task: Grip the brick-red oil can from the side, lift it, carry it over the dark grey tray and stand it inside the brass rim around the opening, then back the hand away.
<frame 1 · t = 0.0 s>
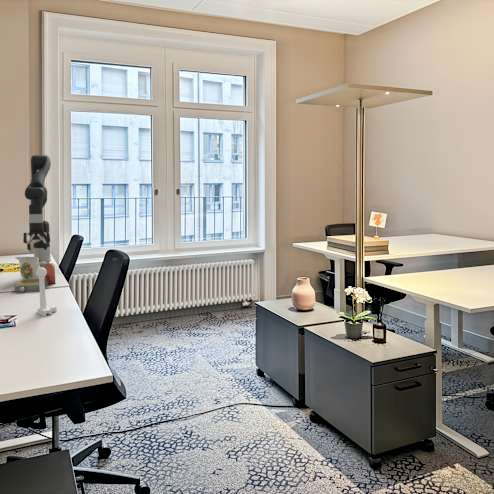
hand: (37, 250, 296), 17 cm above the table, tool pointing down, fingers open, 8 cm apart
pitcher: (32, 280, 295), on the table
spout can: (50, 284, 285), on the table
joystick: (47, 312, 222), on the table
grey tray: (32, 288, 272), on the table
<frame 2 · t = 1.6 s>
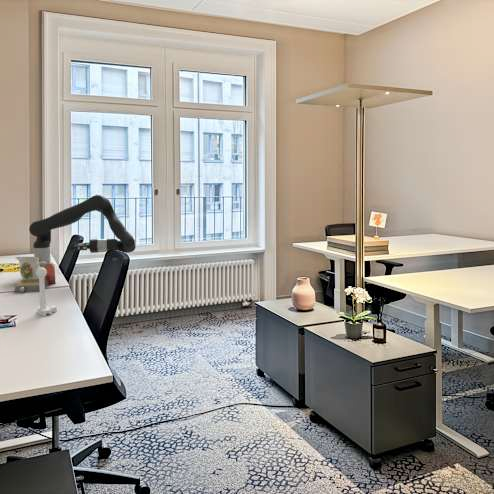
hand: (68, 247, 284), 20 cm above the table, tool horizontal, fingers open, 8 cm apart
nothing on the table moved.
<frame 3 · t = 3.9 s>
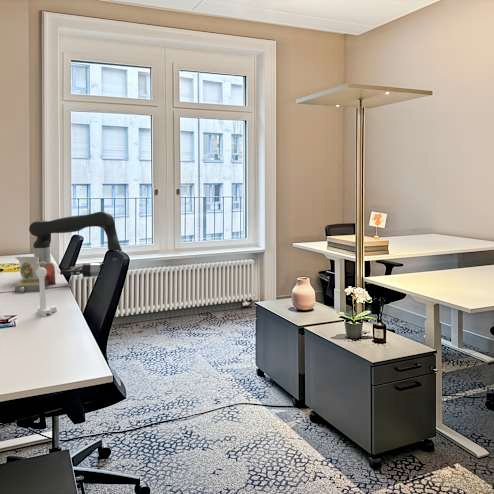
hand: (61, 271, 285), 7 cm above the table, tool horizontal, fingers open, 8 cm apart
nothing on the table moved.
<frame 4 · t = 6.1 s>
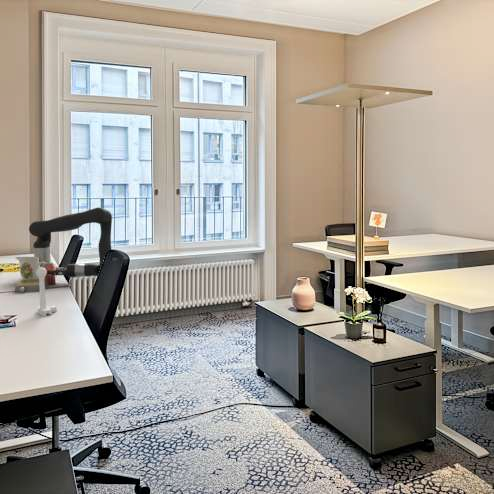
hand: (44, 271, 284), 7 cm above the table, tool horizontal, fingers closed on spout can, 5 cm apart
spout can: (50, 284, 285), on the table, touching gripper
everything else where it was.
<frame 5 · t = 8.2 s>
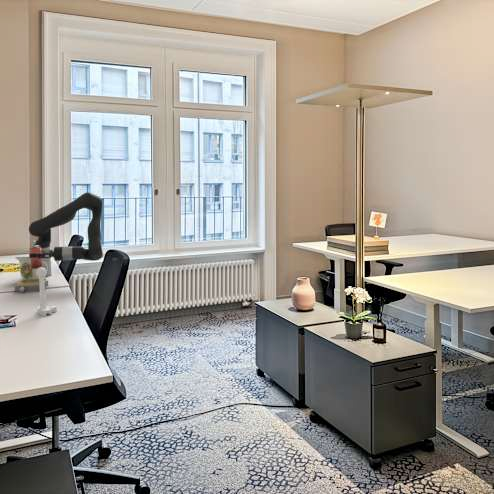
hand: (30, 255, 272), 18 cm above the table, tool horizontal, fingers closed on spout can, 5 cm apart
spout can: (36, 267, 274), point 11 cm above the table, touching gripper
everything else where it was.
when the fingers open (11 cm above the table, at t = 10.6 s): spout can stays where it is, resting on grey tray.
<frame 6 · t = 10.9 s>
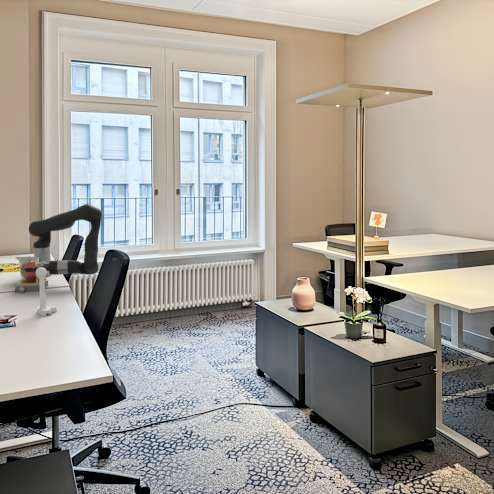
hand: (26, 268, 270), 11 cm above the table, tool horizontal, fingers open, 8 cm apart
spout can: (32, 283, 272), point 3 cm above the table, touching grey tray
everything else where it was.
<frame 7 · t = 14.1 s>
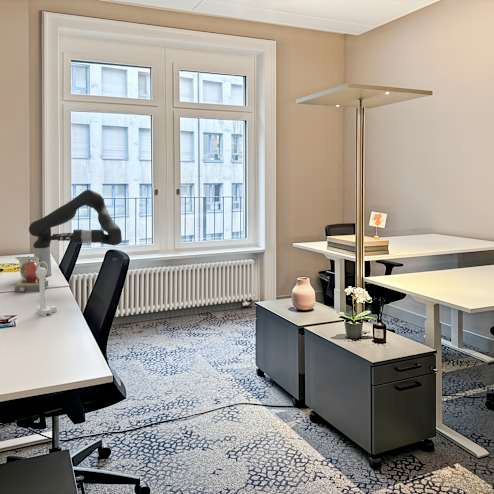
hand: (51, 237, 271), 27 cm above the table, tool horizontal, fingers open, 8 cm apart
nothing on the table moved.
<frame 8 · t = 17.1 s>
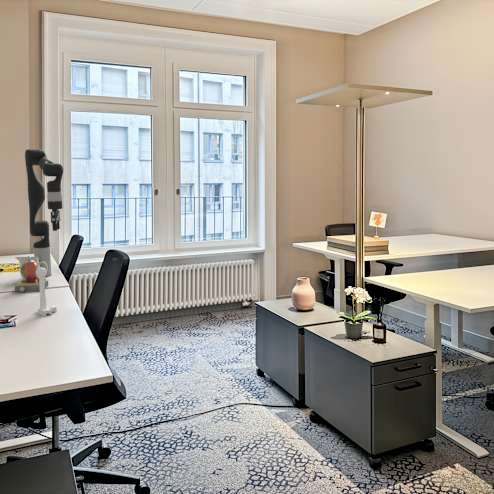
hand: (56, 230, 281), 30 cm above the table, tool pointing down, fingers open, 8 cm apart
nothing on the table moved.
at the end: spout can inside the target area on the grey tray (0.1 cm from its centre), point 3.1 cm above the grey tray's base; spout can tilted 2°; the gripper is holding nothing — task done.
